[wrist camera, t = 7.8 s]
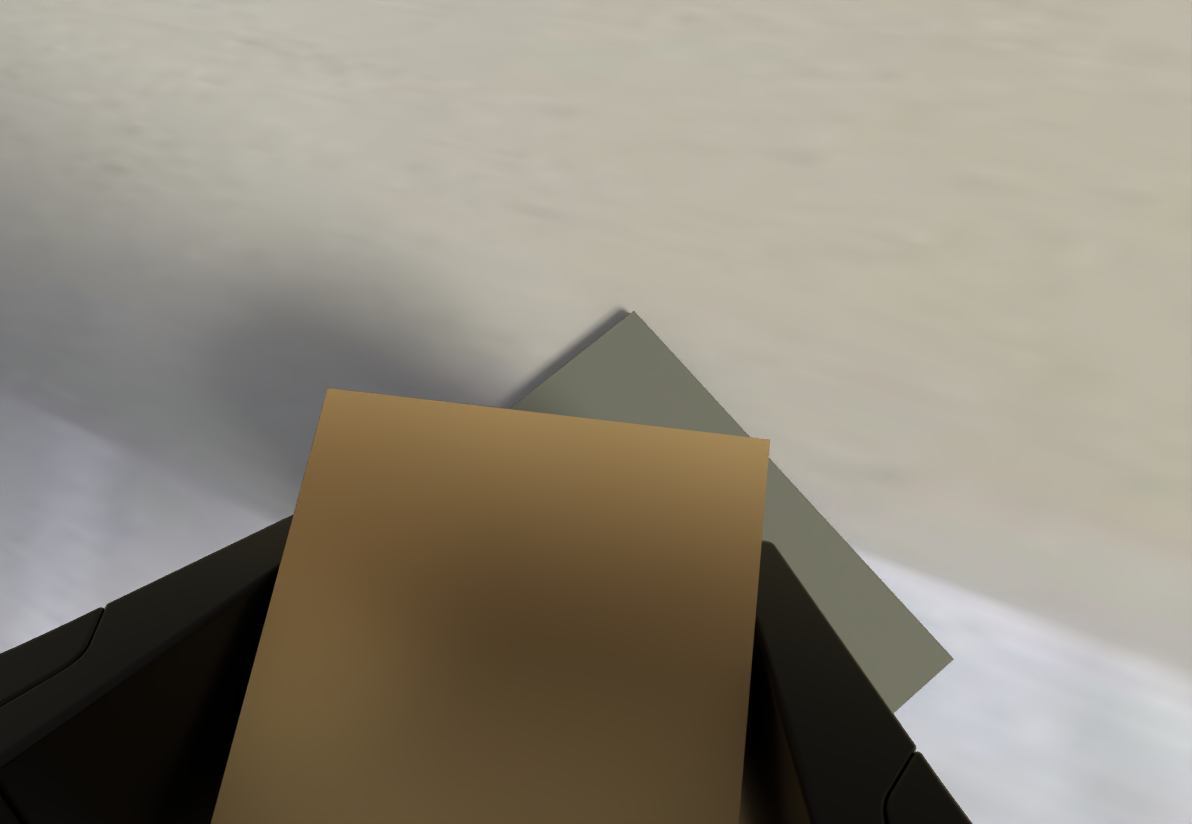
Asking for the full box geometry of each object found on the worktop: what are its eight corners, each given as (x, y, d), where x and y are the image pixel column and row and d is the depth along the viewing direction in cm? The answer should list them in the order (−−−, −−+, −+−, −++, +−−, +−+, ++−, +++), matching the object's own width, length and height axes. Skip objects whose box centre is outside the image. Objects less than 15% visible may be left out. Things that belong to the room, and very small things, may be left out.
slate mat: (563, 1001, 15) (560, 1012, 15) (301, 579, 18) (294, 579, 18) (946, 657, 16) (953, 658, 16) (634, 316, 20) (633, 310, 19)
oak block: (690, 764, 14) (723, 1007, 6) (468, 723, 15) (195, 881, 6) (714, 531, 16) (769, 439, 7) (508, 502, 16) (328, 387, 8)
